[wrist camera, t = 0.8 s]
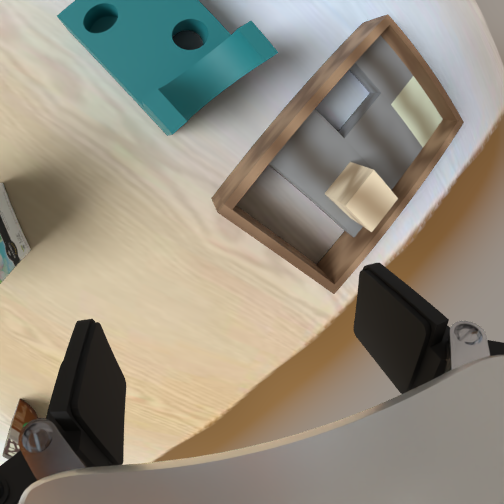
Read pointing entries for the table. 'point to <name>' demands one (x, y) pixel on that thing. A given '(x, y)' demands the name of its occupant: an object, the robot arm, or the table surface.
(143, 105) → the teal l-shaped bracket
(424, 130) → the box
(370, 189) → the block
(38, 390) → the table surface
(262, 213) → the table surface
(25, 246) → the tea box
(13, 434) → the food container
